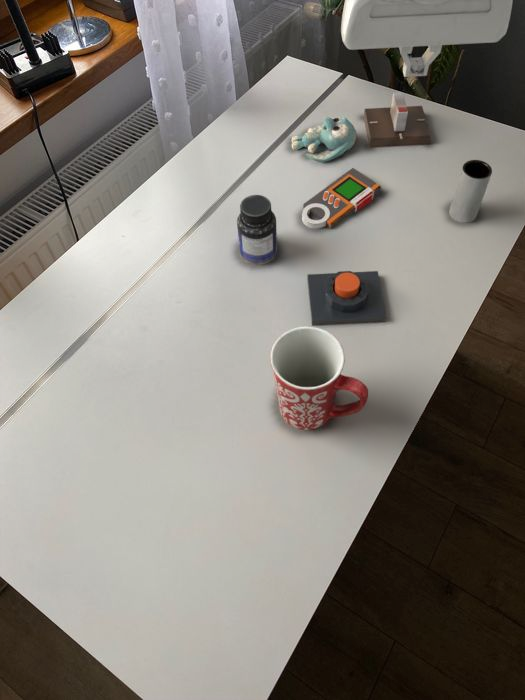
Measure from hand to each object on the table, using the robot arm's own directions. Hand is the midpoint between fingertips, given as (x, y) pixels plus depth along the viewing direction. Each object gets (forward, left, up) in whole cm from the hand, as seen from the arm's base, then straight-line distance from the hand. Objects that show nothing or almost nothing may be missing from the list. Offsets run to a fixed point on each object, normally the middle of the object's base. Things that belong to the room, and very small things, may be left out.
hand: (414, 74), depth 80 cm
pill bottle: (+22, +6, -27) cm, 36 cm away
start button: (+9, +17, -24) cm, 30 cm away
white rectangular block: (-5, -23, -24) cm, 34 cm away
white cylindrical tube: (-13, 0, -27) cm, 30 cm away
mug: (+15, +36, -27) cm, 47 cm away
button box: (+9, +17, -27) cm, 33 cm away
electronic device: (+8, -4, -27) cm, 29 cm away
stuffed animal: (+9, -20, -27) cm, 35 cm away
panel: (-5, -23, -27) cm, 36 cm away
